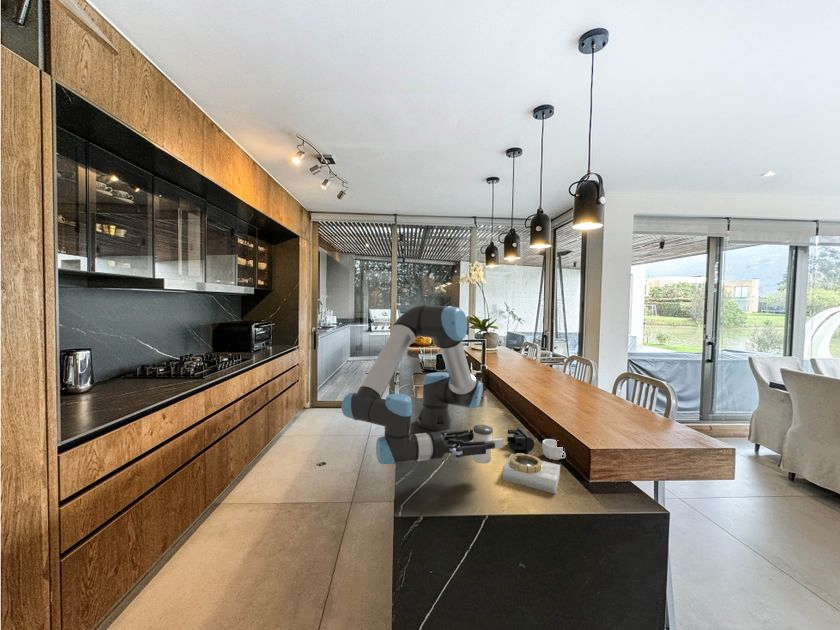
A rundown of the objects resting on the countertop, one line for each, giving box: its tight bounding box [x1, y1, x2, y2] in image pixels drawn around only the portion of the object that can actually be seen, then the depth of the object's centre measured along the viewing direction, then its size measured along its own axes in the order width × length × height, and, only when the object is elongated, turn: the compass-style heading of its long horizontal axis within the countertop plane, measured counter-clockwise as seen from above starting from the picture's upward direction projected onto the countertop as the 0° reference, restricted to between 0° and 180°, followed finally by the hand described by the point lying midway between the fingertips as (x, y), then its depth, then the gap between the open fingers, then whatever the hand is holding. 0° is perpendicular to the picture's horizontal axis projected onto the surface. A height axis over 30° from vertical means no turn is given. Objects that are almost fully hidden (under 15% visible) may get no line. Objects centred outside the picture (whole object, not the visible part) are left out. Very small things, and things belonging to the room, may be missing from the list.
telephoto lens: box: [472, 424, 494, 465], centre depth 114 cm, size 6×6×10 cm
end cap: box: [506, 427, 535, 454], centre depth 141 cm, size 10×7×7 cm
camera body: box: [501, 453, 561, 494], centre depth 117 cm, size 16×12×6 cm
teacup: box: [541, 438, 567, 461], centre depth 133 cm, size 10×8×5 cm
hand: (496, 439), depth 116 cm, fingers closed on telephoto lens, 6 cm apart
